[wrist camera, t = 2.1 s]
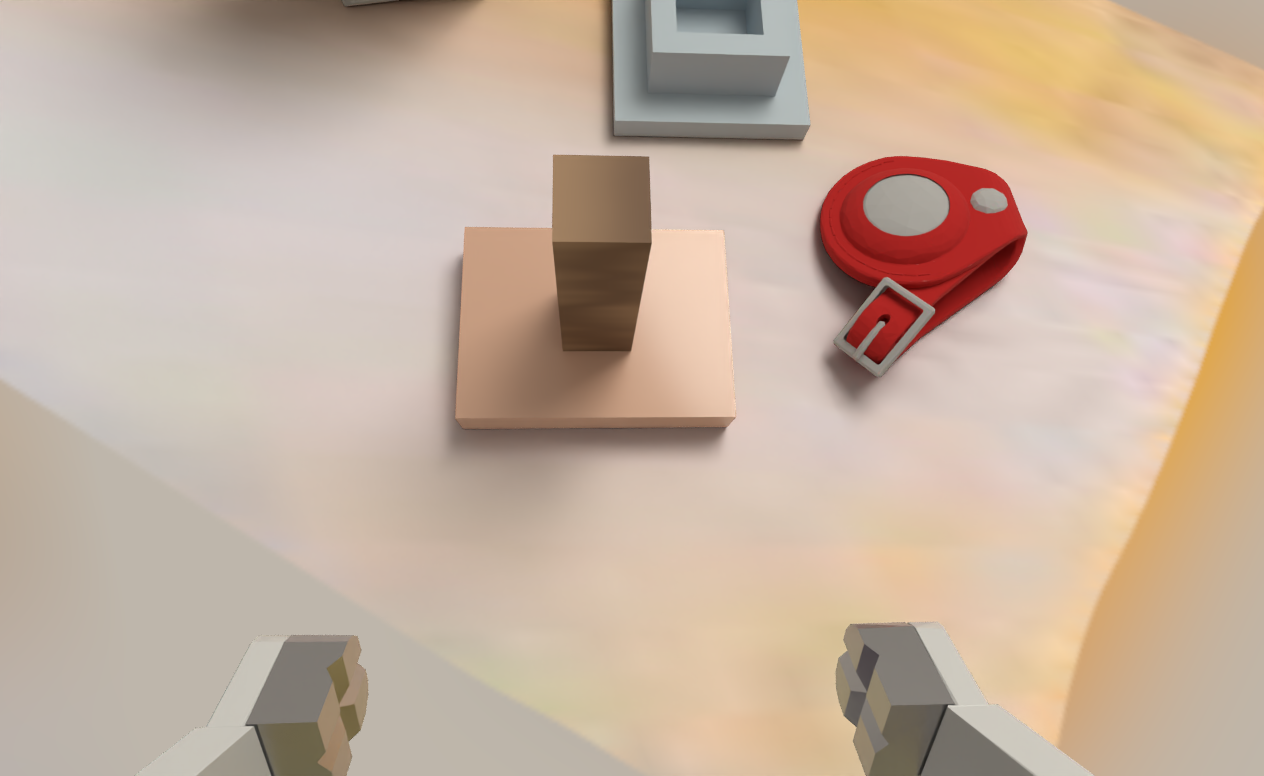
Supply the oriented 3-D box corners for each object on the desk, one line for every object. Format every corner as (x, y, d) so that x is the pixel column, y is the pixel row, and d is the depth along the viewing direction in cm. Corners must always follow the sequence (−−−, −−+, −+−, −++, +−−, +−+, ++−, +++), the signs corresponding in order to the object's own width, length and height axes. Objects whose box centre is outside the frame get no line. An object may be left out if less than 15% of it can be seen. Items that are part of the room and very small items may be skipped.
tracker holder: (799, 155, 35) (1007, 117, 34) (798, 214, 39) (984, 183, 38) (846, 358, 29) (1100, 323, 28) (839, 405, 33) (1062, 377, 32)
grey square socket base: (613, 135, 36) (617, 81, 32) (611, -19, 39) (614, -86, 35) (803, 139, 37) (828, 87, 33) (787, -13, 39) (809, -78, 36)
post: (562, 351, 30) (552, 241, 21) (563, 288, 31) (553, 154, 22) (631, 351, 31) (651, 242, 21) (629, 288, 31) (648, 156, 22)
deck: (463, 428, 31) (455, 418, 29) (471, 247, 34) (464, 227, 32) (727, 427, 32) (736, 416, 30) (716, 250, 34) (724, 230, 33)
